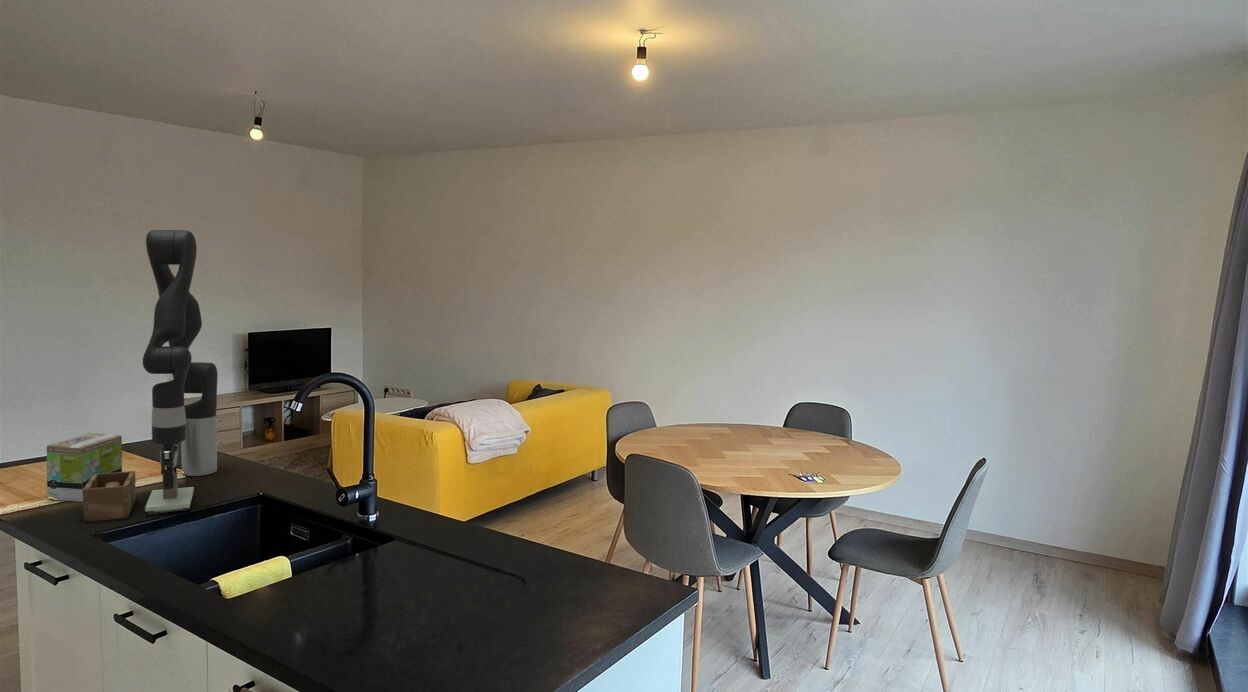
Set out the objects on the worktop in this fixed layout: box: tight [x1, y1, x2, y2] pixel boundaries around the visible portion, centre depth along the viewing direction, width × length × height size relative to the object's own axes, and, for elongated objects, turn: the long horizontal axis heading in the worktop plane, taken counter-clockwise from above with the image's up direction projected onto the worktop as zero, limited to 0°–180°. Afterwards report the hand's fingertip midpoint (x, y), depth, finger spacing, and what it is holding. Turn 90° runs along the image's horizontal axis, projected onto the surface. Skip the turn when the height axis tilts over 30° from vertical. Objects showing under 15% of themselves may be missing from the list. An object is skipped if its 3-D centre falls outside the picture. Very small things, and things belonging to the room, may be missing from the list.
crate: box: [82, 470, 137, 523], centre depth 189 cm, size 14×9×8 cm, turn 27°
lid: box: [144, 472, 195, 512], centre depth 194 cm, size 15×10×8 cm, turn 26°
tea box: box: [46, 432, 123, 503], centre depth 201 cm, size 15×10×15 cm, turn 179°
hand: (170, 483), depth 194 cm, fingers open, 8 cm apart
